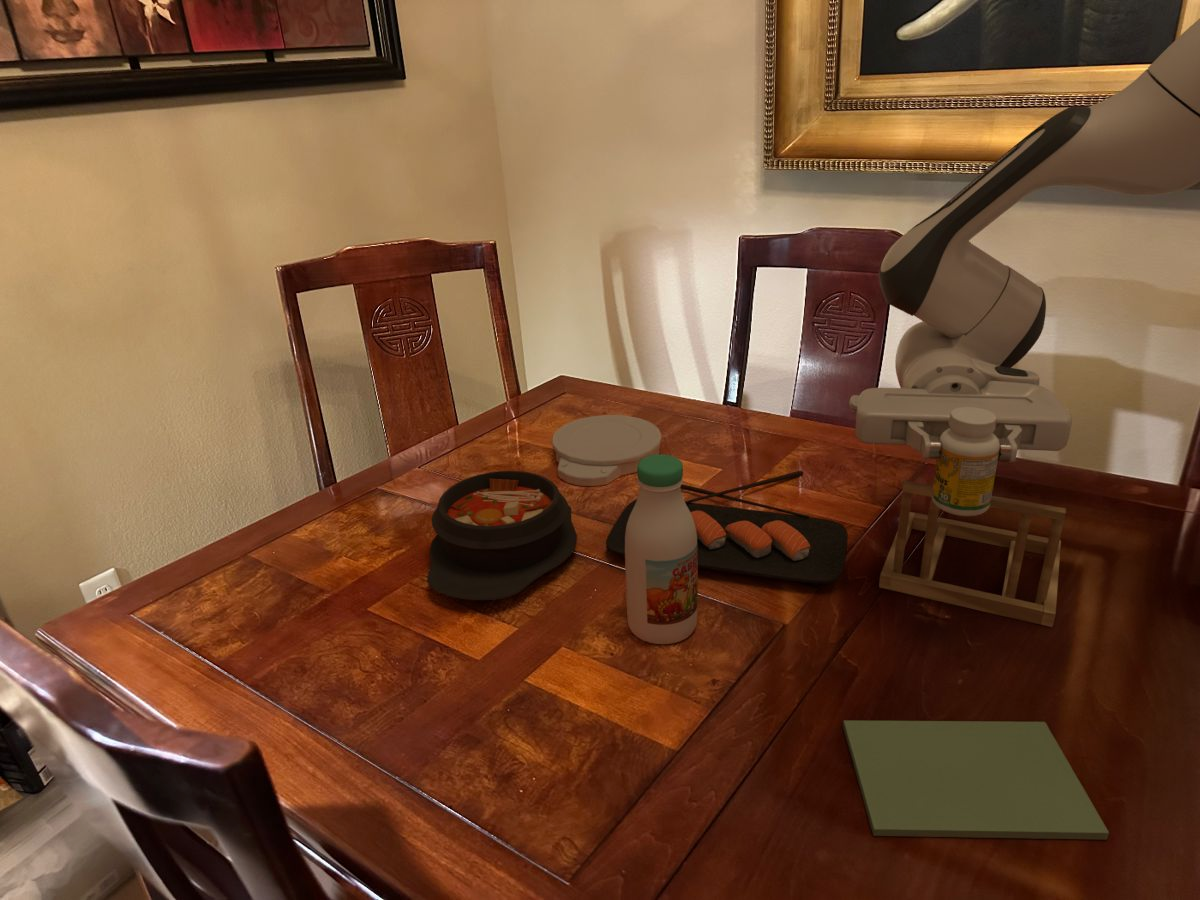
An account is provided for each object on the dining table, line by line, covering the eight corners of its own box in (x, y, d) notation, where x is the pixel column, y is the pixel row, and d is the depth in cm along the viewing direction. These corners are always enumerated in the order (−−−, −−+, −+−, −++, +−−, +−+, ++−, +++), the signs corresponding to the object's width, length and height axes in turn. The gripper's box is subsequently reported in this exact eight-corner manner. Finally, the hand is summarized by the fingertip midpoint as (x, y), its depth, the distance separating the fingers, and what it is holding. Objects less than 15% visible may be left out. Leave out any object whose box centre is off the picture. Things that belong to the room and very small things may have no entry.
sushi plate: (598, 563, 105) (597, 536, 103) (661, 459, 130) (661, 436, 128) (840, 599, 96) (843, 570, 94) (856, 479, 121) (859, 455, 119)
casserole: (477, 500, 121) (470, 448, 117) (601, 513, 116) (599, 459, 112) (392, 602, 99) (381, 541, 95) (541, 623, 94) (535, 560, 90)
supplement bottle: (995, 518, 80) (1012, 427, 76) (937, 517, 81) (950, 426, 77) (981, 491, 85) (996, 403, 81) (925, 489, 86) (937, 403, 82)
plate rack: (903, 522, 110) (915, 433, 104) (1058, 553, 102) (1079, 458, 97) (878, 587, 97) (890, 490, 92) (1052, 627, 89) (1076, 523, 84)
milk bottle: (620, 642, 91) (613, 477, 82) (635, 600, 97) (630, 444, 89) (692, 650, 89) (692, 483, 80) (701, 607, 95) (703, 448, 87)
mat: (1043, 728, 77) (1045, 721, 76) (1107, 840, 66) (1109, 832, 66) (842, 726, 78) (843, 720, 78) (873, 836, 67) (874, 829, 67)
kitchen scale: (525, 477, 126) (523, 459, 125) (579, 425, 143) (578, 409, 142) (632, 494, 120) (632, 476, 119) (676, 438, 137) (676, 421, 135)
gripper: (850, 367, 92) (858, 419, 80) (1053, 372, 88) (1094, 427, 76) (846, 419, 95) (853, 477, 83) (1042, 426, 91) (1080, 488, 79)
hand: (970, 453), depth 80 cm, fingers closed on supplement bottle, 5 cm apart
